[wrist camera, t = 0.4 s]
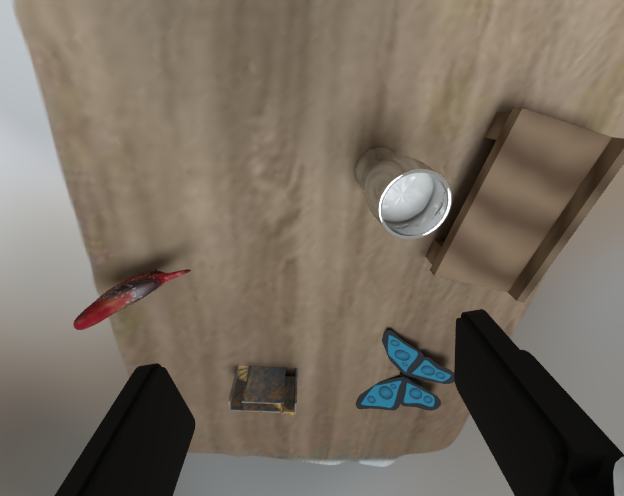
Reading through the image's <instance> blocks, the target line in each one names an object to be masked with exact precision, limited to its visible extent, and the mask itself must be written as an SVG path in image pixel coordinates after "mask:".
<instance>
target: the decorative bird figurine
mask: <svg viewBox="0 0 624 496" xmlns="http://www.w3.org/2000/svg"><path fill="white" fill-rule="evenodd" d="M190 271H191V270H182V271H176V272H172V273H164V272H161V271H157V270H155V271H151V272H149V273H142V274H139V275H136V276H134V277H131V278H129V279H127V280H125V281H123V282H121V283H120V284H118V285H116V286H115V287H113V288H111V289H110V290H109V291H107V292H106V293H104V294H103V295H102V296H101V297H99V298H98V299H97V300H96V301H95V302H94V303H92V305H90V306H89V307H87V308H86V309H85V310H84V311H83V312H82V313H81V314H80V315H79V316H78V317H77V318H76V320H75V321H74V327H75V329H77V330H83V329H86V328H89V327H91V326H93V325H95V324H97V323H99V322H101V321H102V320H104V319H105V318H107V317H109V316H110V315H112V314H114V313H116V312H118V311H120V310H121V309H123V308H125V307H127V306H129V305H131V304H133V303H135V302H136V301H138V300H140V299H142V298H143V297H145V296H147V295H148V294H150V293H151V292H153V291H154V290H156V289H157V288H158V287H160V286H161V285H162V284H163V283H165V282H166V281H168V280H170V279H173V278H175V277H178V276H181V275H183V274H186V273H188V272H190Z"/></svg>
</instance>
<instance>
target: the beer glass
mask: <svg viewBox="0 0 624 496" xmlns="http://www.w3.org/2000/svg"><path fill="white" fill-rule="evenodd" d="M355 177H356V181H357V183H358V184H359V186H360V187H361V188H362V189H363V190H364V194H365V198H366V202H367V205H368V207H369V209H370V211H371V212H372V214H373V215H374V216H375V218H376V219H377V220H378V221H379V222H380V224H381V225H382V226H383V227H384V229H385V230H386V231H387V232H389V233H390V234H391V235H393V236H395V237H397V238H401V239H418V238H421V237H424V236H426V235H428V234H430V233H432V232H433V231H435V230H436V229H437V228H438V227H439V226H440V225H441V224H442V223H443V222H444V221H445V219H446V218H447V216H448V214H449V211H450V209H451V204H452V193H451V189H450V186H449V184H448V182H447V181H446V180H445V178H444V177H443V176H441V175H440V174H439V173H437V172H436V171H434V170H433V169H432V168H431V167H429V166H428V165H426V164H425V163H423V162H421V161H419V160H417V159H415V158H412V157H408V156H401V155H396V154H395V153H394V152H393V151H392V150H390V149H388V148H385V147H376V148H372V149H370V150H368V151H366V152H365V153H364V154H363V155H362V156H361V157H360V158H359V160H358V162H357V164H356V167H355Z"/></svg>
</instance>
